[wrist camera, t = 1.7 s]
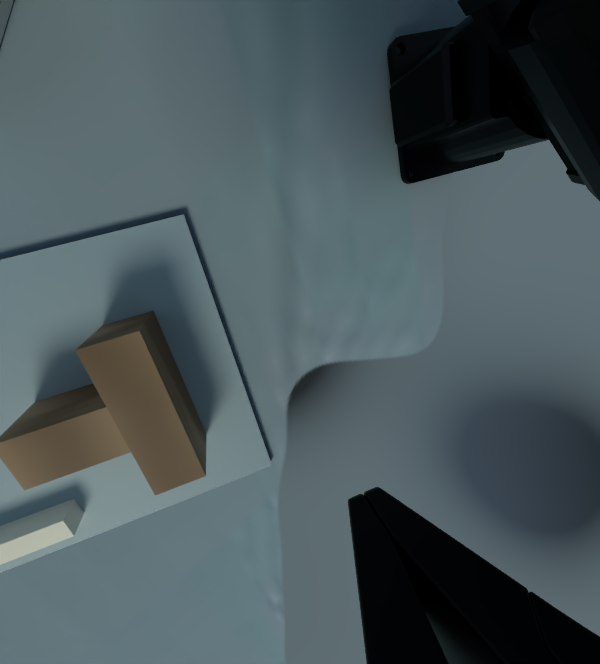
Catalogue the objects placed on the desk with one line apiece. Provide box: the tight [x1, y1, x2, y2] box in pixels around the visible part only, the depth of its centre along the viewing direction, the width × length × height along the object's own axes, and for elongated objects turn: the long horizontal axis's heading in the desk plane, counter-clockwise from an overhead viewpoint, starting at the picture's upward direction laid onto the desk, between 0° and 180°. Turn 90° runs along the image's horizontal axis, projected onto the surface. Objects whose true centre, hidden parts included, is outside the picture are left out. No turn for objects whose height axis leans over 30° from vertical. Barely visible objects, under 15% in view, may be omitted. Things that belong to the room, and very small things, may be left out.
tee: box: [0, 311, 207, 496], centre depth 16 cm, size 7×8×4 cm
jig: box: [0, 214, 272, 573], centre depth 16 cm, size 22×16×2 cm
